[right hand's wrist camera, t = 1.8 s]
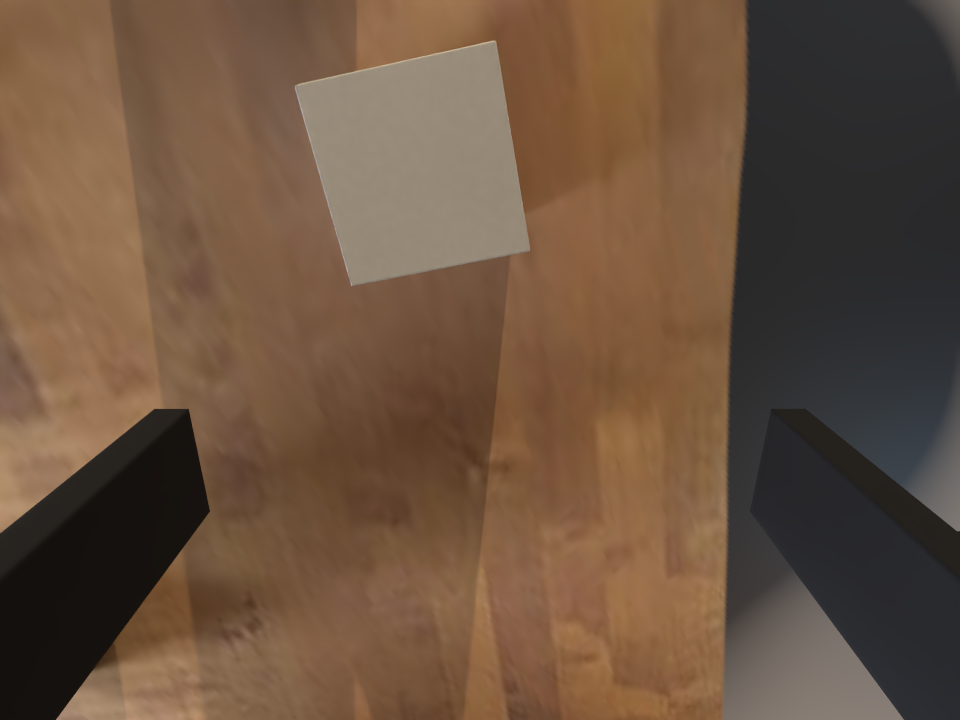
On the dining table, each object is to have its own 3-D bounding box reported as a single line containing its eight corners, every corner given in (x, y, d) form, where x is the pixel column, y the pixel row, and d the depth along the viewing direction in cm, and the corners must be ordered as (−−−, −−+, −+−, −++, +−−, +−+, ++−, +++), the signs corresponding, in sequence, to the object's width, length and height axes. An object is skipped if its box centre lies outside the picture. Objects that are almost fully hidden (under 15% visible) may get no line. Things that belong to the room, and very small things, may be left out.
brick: (514, 220, 37) (530, 251, 25) (388, 245, 37) (351, 286, 26) (489, 75, 34) (496, 39, 22) (353, 105, 34) (293, 84, 23)
